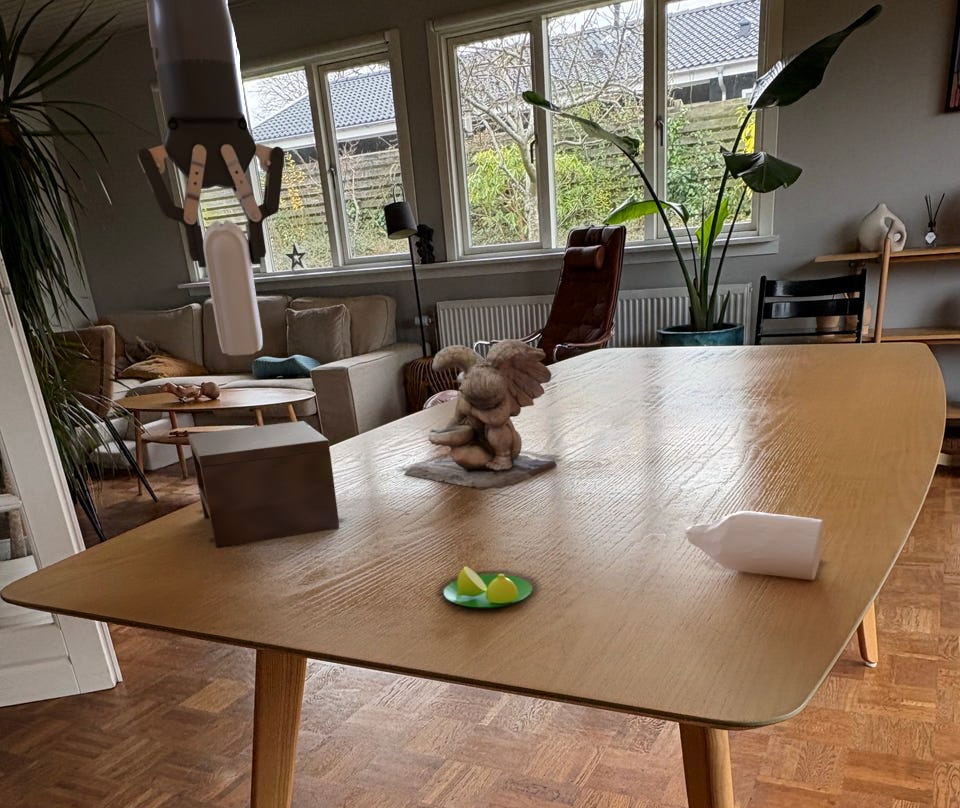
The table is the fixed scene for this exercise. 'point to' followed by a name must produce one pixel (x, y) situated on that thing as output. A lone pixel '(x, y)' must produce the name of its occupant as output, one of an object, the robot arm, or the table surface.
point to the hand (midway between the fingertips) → (229, 264)
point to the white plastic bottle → (762, 543)
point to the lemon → (486, 590)
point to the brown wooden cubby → (265, 482)
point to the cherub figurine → (488, 416)
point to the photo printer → (232, 288)
